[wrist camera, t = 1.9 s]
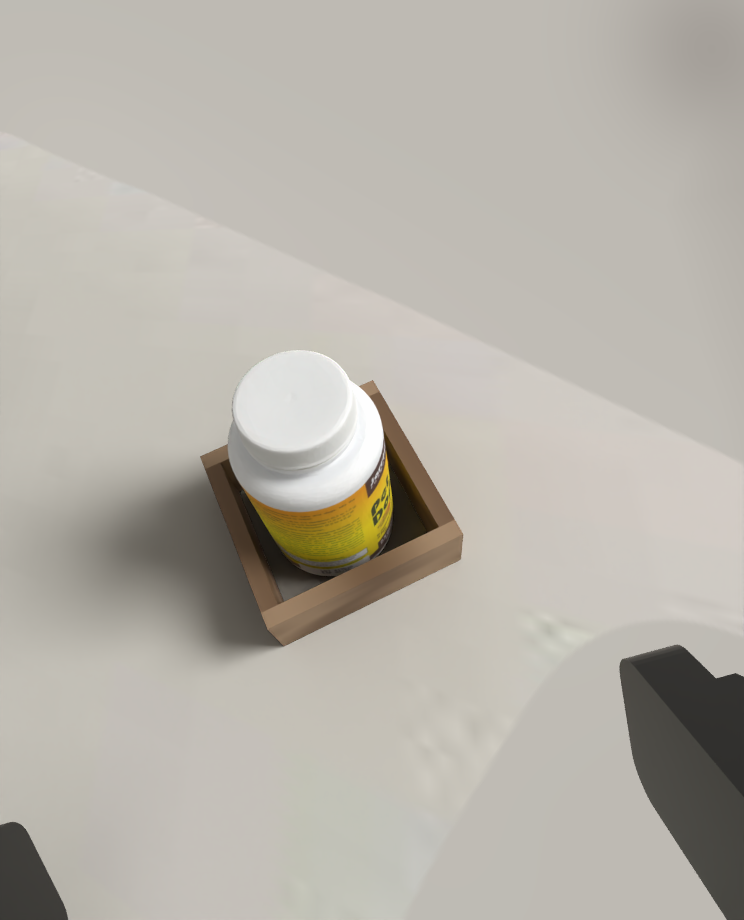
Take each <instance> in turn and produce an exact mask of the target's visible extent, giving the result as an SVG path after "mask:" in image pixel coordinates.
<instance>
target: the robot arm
mask: <svg viewBox="0 0 744 920" xmlns="http://www.w3.org/2000/svg"><path fill="white" fill-rule="evenodd" d="M620 678H621V685H622V691H623V697H624V704H625V710H626V717H627V724H628V730H629V736H630V743H631V749H632V755H633V759H634V763H635V766H636V770H637V772H638V775H639V778H640V780H641V783H642V785H643V787H644V789H645V792H646V794H647V796H648V798H649V800H650V802H651V803H652V805H653V807H654V808H655V810H656V811H657V813H658V814H659V816H660V818H661V819H662V820H663V822H664V823H665V825H666V827H667V828H668V830H669V831H670V833H671V834H672V836H673V837H674V839H675V841H676V842H677V844H678V845H679V847H680V848H681V850H682V851H683V853H684V854H685V856H686V858H687V859H688V860H689V862H690V864H691V865H692V867H693V868H694V870H695V871H696V873H697V874H698V876H699V877H700V879H701V881H702V882H703V884H704V885H705V887H706V888H707V890H708V891H709V893H710V894H711V896H712V897H713V899H714V901H715V902H716V904H717V905H718V907H719V908H720V910H721V911H722V913H723V914H724V916H725V917H726V919H727V920H744V677H743V676H741V675H738V674H736V673H735V674H731V675H727V676H724V677H720V678H715V677H714V676H713V675H712V674H711V673H710V672H709V671H708V670H707V669H706V668H705V667H703V665H702V664H701V663H700V662H698V660H696V659H695V658H694V657H693V656H692V655H691V654H690V653H689V652H688V651H687V650H686V649H685V648H684V647H682V646H680V645H674V646H670V647H666V648H662V649H659V650H655V651H651V652H647V653H644V654H640V655H636V656H633V657H629V658H626V659H622V660H621V662H620ZM0 920H68V917H67V912H66V909H65V906H64V904H63V902H62V900H61V898H60V896H59V894H58V892H57V890H56V888H55V886H54V884H53V882H52V880H51V878H50V876H49V874H48V872H47V870H46V868H45V866H44V864H43V862H42V860H41V858H40V856H39V854H38V852H37V850H36V848H35V846H34V844H33V842H32V840H31V838H30V836H29V834H28V833H27V831H26V829H25V828H24V827H23V826H22V825H20V824H19V823H16V822H10V823H6V824H2V825H0Z"/></svg>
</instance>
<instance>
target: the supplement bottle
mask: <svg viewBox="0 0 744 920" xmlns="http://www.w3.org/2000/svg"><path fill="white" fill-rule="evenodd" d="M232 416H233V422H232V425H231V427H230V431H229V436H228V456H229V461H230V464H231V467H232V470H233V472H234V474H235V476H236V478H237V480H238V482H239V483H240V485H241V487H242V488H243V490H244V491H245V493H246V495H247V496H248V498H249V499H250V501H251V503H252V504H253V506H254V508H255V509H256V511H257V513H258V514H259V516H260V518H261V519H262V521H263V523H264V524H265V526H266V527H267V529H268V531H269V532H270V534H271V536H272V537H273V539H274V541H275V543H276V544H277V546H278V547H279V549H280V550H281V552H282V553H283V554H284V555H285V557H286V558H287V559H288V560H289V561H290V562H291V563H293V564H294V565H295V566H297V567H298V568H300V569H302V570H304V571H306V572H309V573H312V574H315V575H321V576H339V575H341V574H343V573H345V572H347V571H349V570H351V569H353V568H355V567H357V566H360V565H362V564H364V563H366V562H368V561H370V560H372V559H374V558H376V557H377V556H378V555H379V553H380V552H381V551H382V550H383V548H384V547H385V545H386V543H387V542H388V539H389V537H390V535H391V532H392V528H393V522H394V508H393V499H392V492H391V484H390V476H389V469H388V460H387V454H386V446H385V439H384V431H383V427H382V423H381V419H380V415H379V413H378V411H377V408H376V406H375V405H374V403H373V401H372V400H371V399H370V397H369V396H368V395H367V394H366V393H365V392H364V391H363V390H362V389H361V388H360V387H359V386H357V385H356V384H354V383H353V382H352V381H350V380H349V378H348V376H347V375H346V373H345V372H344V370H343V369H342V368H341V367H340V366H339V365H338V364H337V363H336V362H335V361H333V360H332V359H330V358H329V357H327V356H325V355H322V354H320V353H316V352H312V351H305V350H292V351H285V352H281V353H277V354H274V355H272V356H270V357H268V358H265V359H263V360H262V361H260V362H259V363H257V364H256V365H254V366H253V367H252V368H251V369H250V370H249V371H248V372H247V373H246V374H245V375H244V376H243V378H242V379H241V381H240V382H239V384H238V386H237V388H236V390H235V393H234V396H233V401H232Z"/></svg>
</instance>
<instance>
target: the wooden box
mask: <svg viewBox="0 0 744 920" xmlns="http://www.w3.org/2000/svg"><path fill="white" fill-rule="evenodd" d="M359 387H360V388H361V389H362V390H363V391H364V392H365V393H366V394H367V395H368V396H369V397H370V399H371V400H372V401H373V403H374V405H375V406H376V408H377V411H378V413H379V415H380V419H381V423H382V427H383V431H384V439H385V446H386V454H387V460H388V462H389V464H390V466H391V468H392V469H393V471H394V473H395V475H396V477H397V478H398V480H399V482H400V484H401V486H402V487H403V489H404V491H405V493H406V494H407V496H408V498H409V500H410V502H411V503H412V505H413V507H414V509H415V511H416V512H417V514H418V516H419V518H420V520H421V521H422V523H423V525H424V527H425V529H426V530H427V532H428V533H426V534H424V535H422V536H420V537H418V538H416V539H414V540H412V541H409V542H407V543H405V544H403V545H401V546H399V547H397V548H395V549H393V550H391V551H389V552H387V553H385V554H382V555H380V556H378V557H376V558H374V559H372V560H370V561H368V562H366V563H364V564H362V565H360V566H357V567H355V568H353V569H351V570H349V571H347V572H345V573H343V574H341V575H339V576H337V577H335V578H333V579H330V580H328V581H326V582H324V583H322V584H320V585H318V586H316V587H314V588H312V589H310V590H308V591H306V592H303V593H301V594H299V595H297V596H295V597H293V598H291V599H289V600H287V601H285V602H284V601H283V598H282V596H281V593H280V591H279V588H278V586H277V584H276V581H275V579H274V576H273V574H272V571H271V569H270V567H269V564H268V562H267V559H266V557H265V554H264V552H263V550H262V547H261V545H260V542H259V540H258V537H257V535H256V533H255V530H254V528H253V525H252V523H251V520H250V518H249V515H248V513H247V511H246V508H245V506H244V503H243V501H242V498H241V496H240V494H239V491H241V490H243V488H242V487H241V485H240V483H239V482H238V480H237V478H236V476H235V474H234V472H233V470H232V467H231V464H230V461H229V456H228V445H225V446H223V447H221V448H218V449H216V450H214V451H212V452H209V453H207V454H205V455H203V456H200V457H201V460H202V463H203V465H204V468H205V470H206V473H207V475H208V478H209V481H210V483H211V486H212V488H213V491H214V493H215V496H216V499H217V501H218V504H219V506H220V509H221V511H222V514H223V517H224V519H225V522H226V524H227V527H228V529H229V532H230V535H231V537H232V540H233V542H234V545H235V547H236V550H237V553H238V555H239V558H240V560H241V563H242V565H243V568H244V571H245V573H246V576H247V578H248V581H249V583H250V586H251V588H252V591H253V594H254V596H255V599H256V601H257V604H258V606H259V609H260V612H261V614H262V617H263V619H264V622H265V624H266V627H267V629H268V630H269V632H270V633H271V634H272V635H273V636H274V637H275V638H276V639H277V640H278V641H279V642H280V643H281V644H282V645H283V646H285V645H288V644H290V643H292V642H294V641H296V640H298V639H300V638H302V637H304V636H306V635H308V634H310V633H312V632H314V631H316V630H318V629H320V628H322V627H324V626H326V625H328V624H330V623H332V622H334V621H336V620H338V619H340V618H343V617H345V616H347V615H349V614H351V613H353V612H355V611H357V610H359V609H361V608H363V607H365V606H367V605H369V604H371V603H373V602H375V601H377V600H379V599H381V598H383V597H385V596H387V595H389V594H391V593H393V592H395V591H398V590H400V589H402V588H404V587H406V586H408V585H410V584H412V583H414V582H416V581H418V580H420V579H422V578H424V577H426V576H428V575H430V574H432V573H434V572H436V571H438V570H440V569H442V568H444V567H446V566H448V565H450V564H453V563H455V562H457V561H459V560H461V552H462V542H463V533H462V531H461V530H460V528H459V526H458V525H457V523H456V521H455V519H454V518H453V516H452V514H451V513H450V511H449V509H448V508H447V506H446V504H445V502H444V501H443V499H442V497H441V496H440V494H439V492H438V490H437V489H436V487H435V485H434V484H433V482H432V480H431V479H430V477H429V475H428V473H427V472H426V470H425V468H424V467H423V465H422V463H421V461H420V460H419V458H418V456H417V455H416V453H415V451H414V449H413V448H412V446H411V444H410V443H409V441H408V439H407V438H406V436H405V434H404V432H403V431H402V429H401V427H400V426H399V424H398V422H397V420H396V419H395V417H394V415H393V414H392V412H391V410H390V409H389V407H388V405H387V403H386V402H385V400H384V398H383V397H382V395H381V393H380V391H379V390H378V388H377V386H376V385H375V383H374V381H373V380H372V381H370V382H368V383H366V384H363V385H361V386H359Z"/></svg>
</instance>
